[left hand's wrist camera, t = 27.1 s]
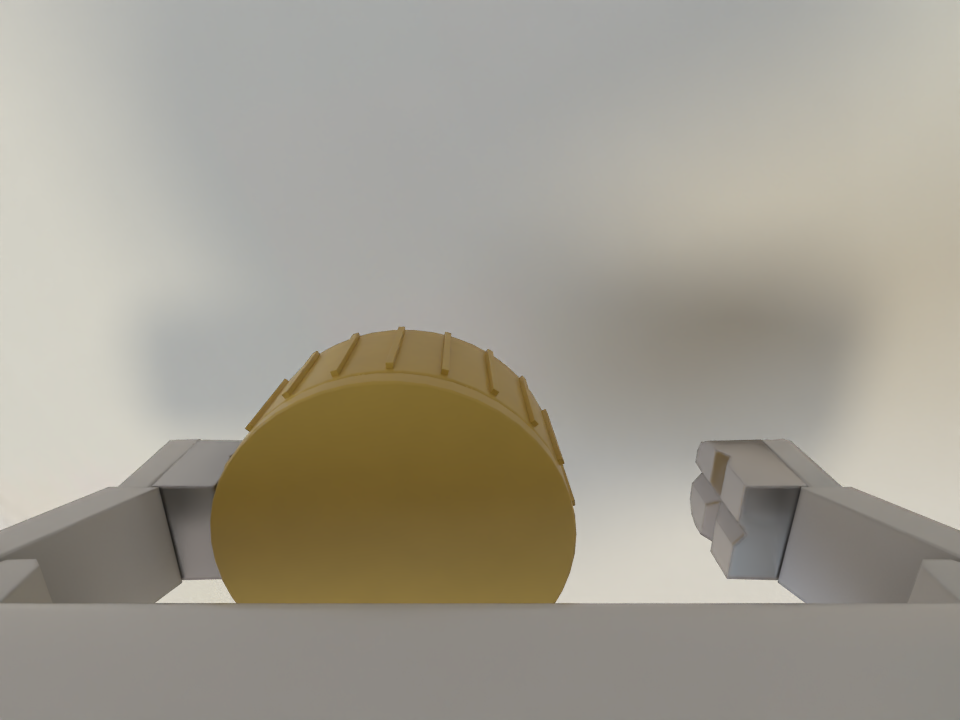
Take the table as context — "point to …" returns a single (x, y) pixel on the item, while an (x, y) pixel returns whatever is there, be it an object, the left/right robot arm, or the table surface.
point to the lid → (396, 482)
